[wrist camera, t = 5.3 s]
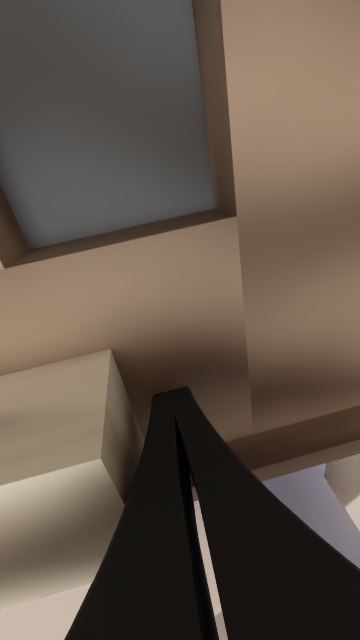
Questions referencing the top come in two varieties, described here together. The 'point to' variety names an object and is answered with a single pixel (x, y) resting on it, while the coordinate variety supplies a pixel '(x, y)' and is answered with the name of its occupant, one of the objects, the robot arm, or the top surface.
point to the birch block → (62, 473)
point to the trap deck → (190, 209)
